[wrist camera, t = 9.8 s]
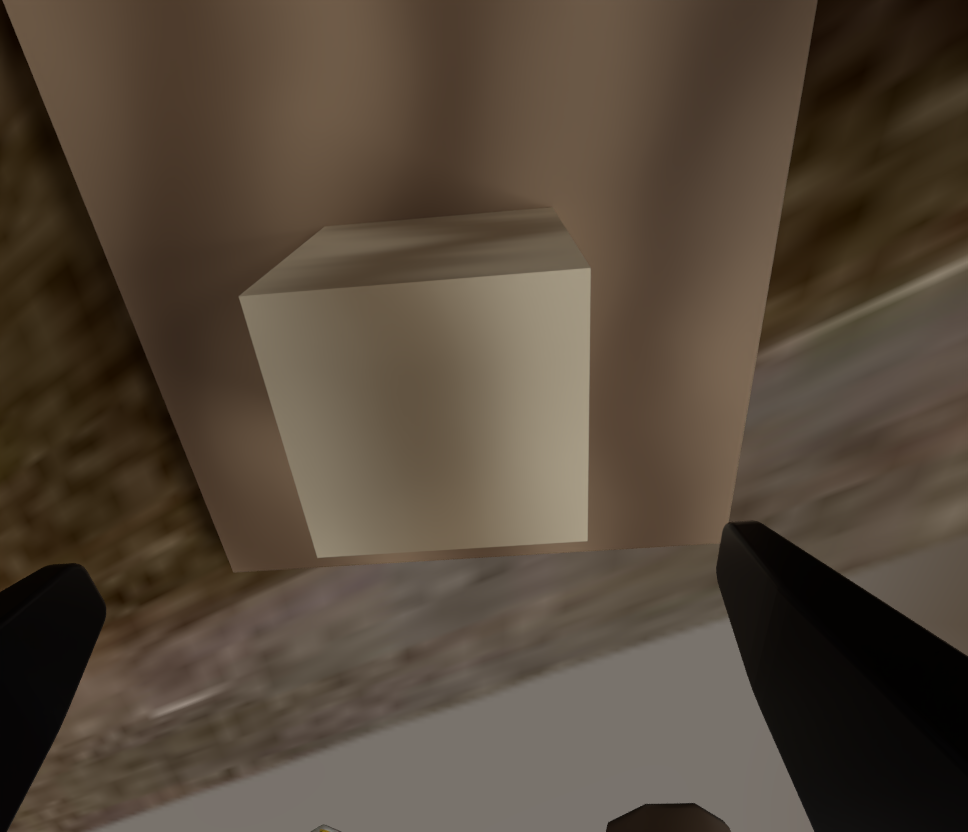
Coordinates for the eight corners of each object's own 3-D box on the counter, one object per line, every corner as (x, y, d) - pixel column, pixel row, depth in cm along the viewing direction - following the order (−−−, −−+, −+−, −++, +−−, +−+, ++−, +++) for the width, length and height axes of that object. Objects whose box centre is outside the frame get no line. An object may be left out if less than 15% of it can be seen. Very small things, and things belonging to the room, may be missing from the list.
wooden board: (803, -107, 13) (839, -129, 11) (710, 515, 22) (724, 542, 20) (34, -28, 13) (-15, -41, 12) (248, 544, 22) (233, 572, 21)
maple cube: (552, 207, 15) (590, 267, 9) (556, 409, 18) (587, 541, 12) (324, 226, 15) (238, 296, 10) (366, 422, 18) (317, 557, 13)
